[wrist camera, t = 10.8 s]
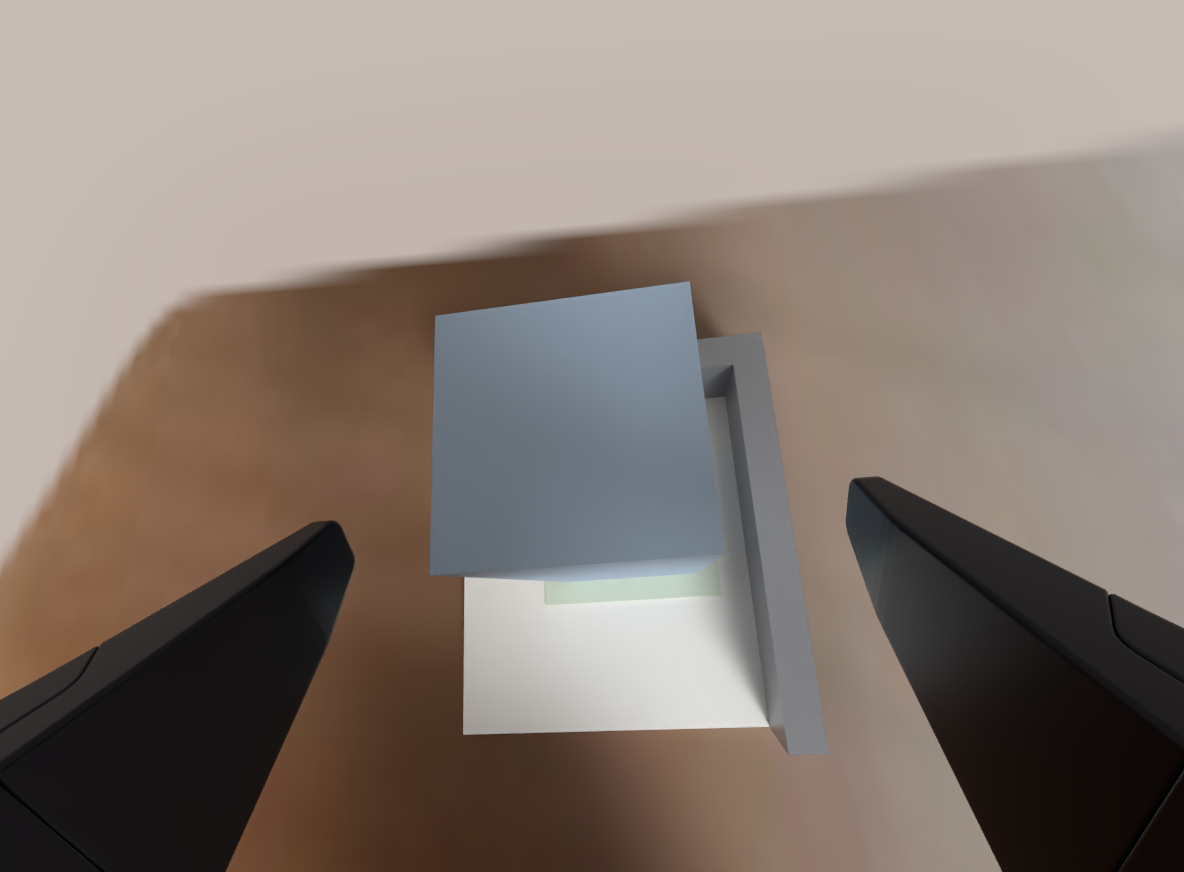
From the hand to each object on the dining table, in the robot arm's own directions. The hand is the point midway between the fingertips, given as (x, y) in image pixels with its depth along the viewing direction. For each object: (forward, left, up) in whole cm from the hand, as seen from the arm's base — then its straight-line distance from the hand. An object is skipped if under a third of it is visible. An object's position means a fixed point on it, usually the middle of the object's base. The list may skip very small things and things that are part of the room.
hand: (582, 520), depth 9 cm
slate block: (+1, +1, -10) cm, 10 cm away
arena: (0, +1, -10) cm, 10 cm away
